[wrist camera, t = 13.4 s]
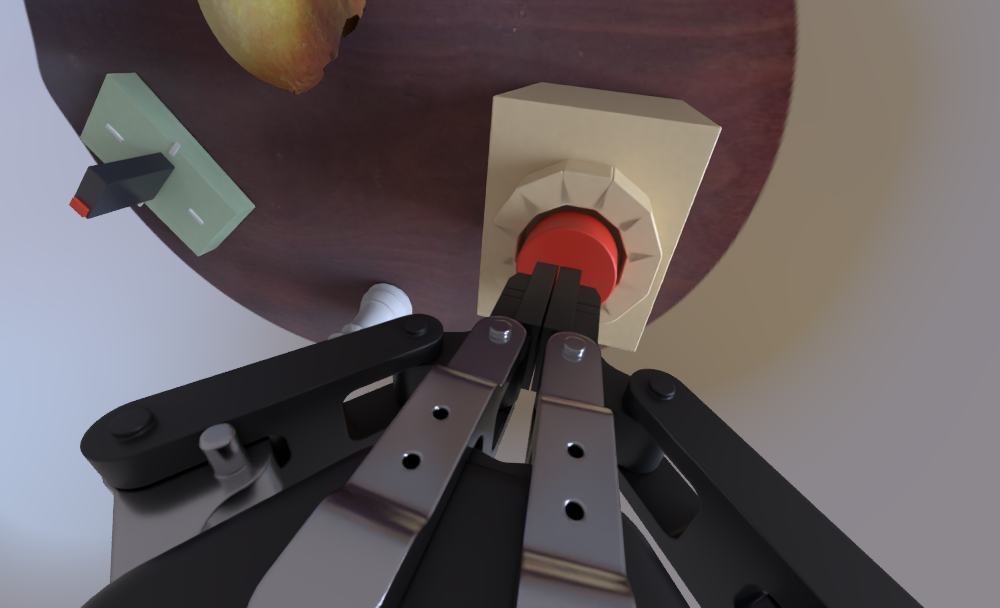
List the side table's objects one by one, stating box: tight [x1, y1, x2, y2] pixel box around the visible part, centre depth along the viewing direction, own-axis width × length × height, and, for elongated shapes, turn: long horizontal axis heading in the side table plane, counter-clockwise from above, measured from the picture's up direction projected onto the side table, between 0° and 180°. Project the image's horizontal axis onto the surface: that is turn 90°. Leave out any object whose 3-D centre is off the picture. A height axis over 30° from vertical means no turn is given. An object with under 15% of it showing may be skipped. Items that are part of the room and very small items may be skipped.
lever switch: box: [80, 73, 255, 256], centre depth 32 cm, size 12×9×2 cm
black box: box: [69, 152, 175, 219], centre depth 29 cm, size 5×1×5 cm, turn 125°
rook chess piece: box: [328, 283, 412, 340], centre depth 31 cm, size 4×4×8 cm
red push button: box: [516, 211, 617, 305], centre depth 14 cm, size 4×4×2 cm
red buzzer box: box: [477, 82, 721, 352], centre depth 20 cm, size 10×8×12 cm
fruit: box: [198, 0, 366, 95], centre depth 20 cm, size 8×8×8 cm
